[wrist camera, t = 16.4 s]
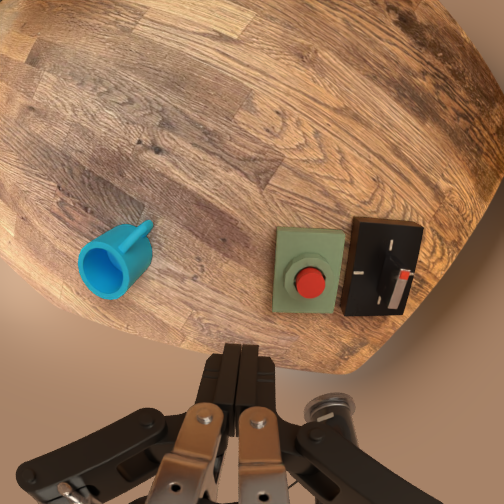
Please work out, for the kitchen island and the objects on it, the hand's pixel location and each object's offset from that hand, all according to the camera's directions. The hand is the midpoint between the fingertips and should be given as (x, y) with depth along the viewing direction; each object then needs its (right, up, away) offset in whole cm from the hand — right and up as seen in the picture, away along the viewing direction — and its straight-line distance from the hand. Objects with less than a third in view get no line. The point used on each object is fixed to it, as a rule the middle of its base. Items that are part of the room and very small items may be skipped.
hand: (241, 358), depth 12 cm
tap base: (+19, +3, +27) cm, 33 cm away
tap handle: (+19, +2, +24) cm, 31 cm away
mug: (-17, +6, +27) cm, 33 cm away
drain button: (+8, +1, +24) cm, 25 cm away
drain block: (+8, +2, +27) cm, 29 cm away
